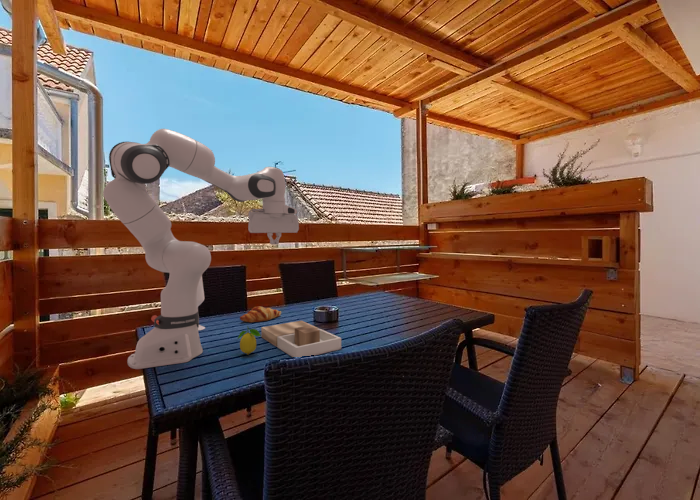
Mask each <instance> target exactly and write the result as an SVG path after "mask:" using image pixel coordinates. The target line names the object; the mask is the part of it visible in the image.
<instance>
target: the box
mask: <svg viewBox="0 0 700 500" xmlns="http://www.w3.org/2000/svg"><path fill="white" fill-rule="evenodd" d="M318 330H320V342H316V343H312V344H307V345H303V346H297V345H296V344H295V333H294V334H289V335H283V336H278V337H277V348H278V349H279V350H280V351H282V352H284V353H285V354H287V355H289V356H290V357H291V358H293V357H302V356H310V357H312V356H311V355H314V356H318V355H322V354H325V353H331V352H334V351H338V350H339V351H340V350H342V337H339V336H338V335H335V334H334V333H330V332H329V331H326V330H325V329H323V328H318Z"/></svg>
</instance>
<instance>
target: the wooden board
mask: <svg viewBox="0 0 700 500" xmlns="http://www.w3.org/2000/svg"><path fill="white" fill-rule="evenodd" d="M304 326H311V327H313V328H315V329H319V327H317V326H314V325H313V324H311V323H308V322H305V321H304V320H295V321H290V322H285V323H279V324H274V325H273V324H272V325H267V326H263V327H262V326H261V330H260V331H261V334H260V335H261V336H260V337H261V338H262V339H263V340H265V341H267V343H268V342H269V343H270V344H271V345H273V346H274V347H277V337H278V336H283V335H289V334H294V333H295V328H298V327H304Z"/></svg>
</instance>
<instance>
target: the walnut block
mask: <svg viewBox="0 0 700 500" xmlns="http://www.w3.org/2000/svg"><path fill="white" fill-rule="evenodd" d="M318 329H319V328H318ZM318 329H315V328H313V327H311V326H304V327H298V328H295V344H296V345H297V346H303V345H307V344H312V343H316V342H320V330H318Z"/></svg>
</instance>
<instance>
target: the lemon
mask: <svg viewBox="0 0 700 500" xmlns="http://www.w3.org/2000/svg"><path fill="white" fill-rule="evenodd" d="M256 337H261V334H260V332H259V331H258V330H257V329H255V328H249V326H248V325H247V329H246V330H242V331H241V332H240V333H239V334H238V336H237V340H238V339H240V341H239V349H240V351H241V352H242V353H244V354H246V355H248V356H249V355H250V354H251V353H253V352H255V350H256V349H257V339H256Z"/></svg>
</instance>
